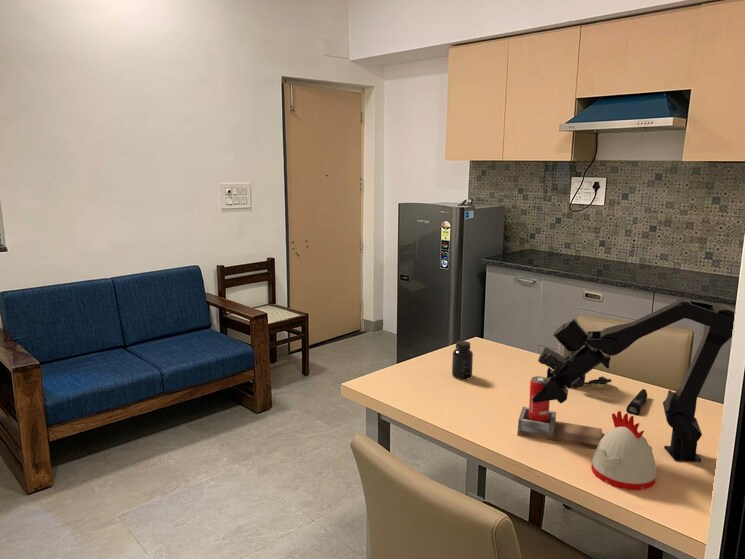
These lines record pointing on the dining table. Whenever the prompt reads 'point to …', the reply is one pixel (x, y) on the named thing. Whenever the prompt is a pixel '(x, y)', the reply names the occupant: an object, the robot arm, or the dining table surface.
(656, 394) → the dining table surface
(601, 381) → the milk frother
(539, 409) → the beverage can
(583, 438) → the socket board
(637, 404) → the electric trimmer
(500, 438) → the dining table surface
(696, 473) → the dining table surface
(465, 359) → the supplement bottle
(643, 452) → the kitchen timer
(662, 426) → the dining table surface
